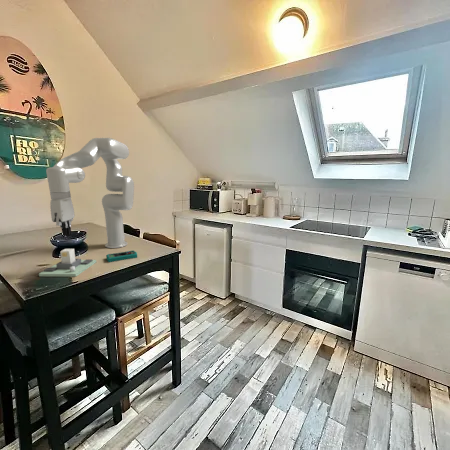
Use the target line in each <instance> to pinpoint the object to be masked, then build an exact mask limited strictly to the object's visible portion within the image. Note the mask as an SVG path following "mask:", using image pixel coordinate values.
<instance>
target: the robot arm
mask: <svg viewBox="0 0 450 450" xmlns="http://www.w3.org/2000/svg"><path fill="white" fill-rule="evenodd" d="M128 147H129V146H127V145H126V143H123V142H122V141H119V140H117V139H114V138H110V137H95V138H92V139H90V140H89V141H88V142H87V143H86V144H85V145H84V146H83V147H82V148H81V149H80V150H78V151H76V152H74V153H72V154H70V155H67V156H64V157H63V158H61V159H60V160H58V161H57V162H56V163H55V164H54V165H53V166H52V167H51V166H50V167H47V168H46V169H45V171H46V178H47V183H48V189H49V194H50V204H49V205H50V206H49V207H50V218H51V221H52V223H55V224H56V227H57V226H59V228H61V233H62V236H63V237H70V236H72V235H73V233H72V221H74V218H75V216H76V215H75V208H74V204H73V202H72V195H71V189H70V184H73V183H74V184H75V183H76V184H77V183H81V182H83V181H84V180H85V177H86V173H85V170H84V169H83V168H88V167H90V166H93V165H95V163H96V162H97V161H98V160H99V159H100V158H101V159H102V161H103V162H104V164H105V166H106V174H105V175H106V177H105V188H106V190H107V191H109V192H112V193H107V194H105V195H103V197H102V199H101V205H102V208H103V211H104V216H105V217H104V218H105V227H106V228H105V229H106V237H107V238H106V239H107V240H106V241H107V242H106V243H105V244H104V246H105V248H108V249H119V248H122V247H123V248H124V247H126V246H127V245H128V242H127V241H125V239H126V236H125V232H124V217H123V215H122V213H121V211H130V210H131V209H132V208H133V206H134V195H135V182H134V180H133V178H132V177H131V176H129V175H123V167H122V165H121V163H120V162H119V160H126V159H128V157H129V156H130V149H129V148H128ZM113 192H114V193H113ZM118 192H119V193H118Z"/></svg>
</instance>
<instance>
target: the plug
mask: <svg viewBox="0 0 450 450" xmlns="http://www.w3.org/2000/svg"><path fill="white" fill-rule="evenodd" d="M75 253H76V252H75V248H64V249H62V250H61V251H60V262H61V261H62V263H73V262H75V261H76V260H75V259H76V254H75Z"/></svg>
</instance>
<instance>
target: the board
mask: <svg viewBox="0 0 450 450" xmlns="http://www.w3.org/2000/svg"><path fill="white" fill-rule="evenodd" d="M75 260H76V261H75V262H73V263H62V261H61V260H60V261H59V262H57V263H56V264H54V265H52V266H50V267H47V268H45V269H43V271H41V272H39V273H38V277H54V278H55V277H57V278H58V277H66V278H67V277H69V278H70V277H71V278H72V277H78V276H79V275H80V274H82V273H83V272H85V271H86V270H88V268H90V267H92V266H93V265H95V264H96V263H97V259H93V258H92V259H89V258H88V259H82V258H75Z"/></svg>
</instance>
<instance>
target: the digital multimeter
mask: <svg viewBox="0 0 450 450" xmlns="http://www.w3.org/2000/svg"><path fill="white" fill-rule="evenodd" d="M136 258H138V252H137V251H135V250H128V251H122V252H121V251H120V252H115V253H108V254H106V261H107V262H108V263H113V262H119V261H125V260H130V259H136Z"/></svg>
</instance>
